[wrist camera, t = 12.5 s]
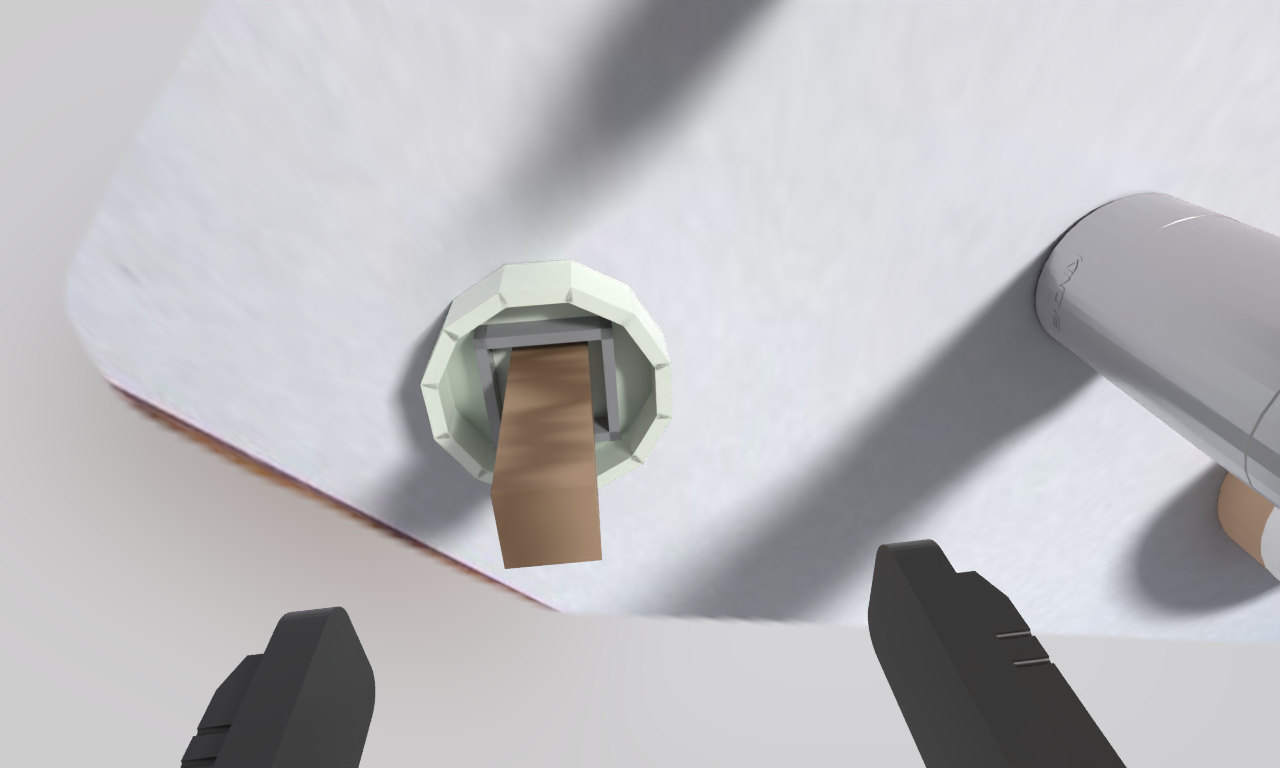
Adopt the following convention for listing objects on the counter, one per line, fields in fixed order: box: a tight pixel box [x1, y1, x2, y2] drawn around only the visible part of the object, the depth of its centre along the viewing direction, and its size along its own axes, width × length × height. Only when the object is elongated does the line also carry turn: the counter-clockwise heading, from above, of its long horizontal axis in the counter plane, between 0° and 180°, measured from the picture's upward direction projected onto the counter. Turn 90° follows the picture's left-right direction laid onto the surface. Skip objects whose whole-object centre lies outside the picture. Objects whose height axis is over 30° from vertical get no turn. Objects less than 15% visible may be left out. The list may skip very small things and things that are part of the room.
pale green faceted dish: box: [420, 260, 672, 489], centre depth 37 cm, size 13×13×4 cm
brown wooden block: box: [491, 341, 602, 569], centre depth 32 cm, size 4×4×12 cm
